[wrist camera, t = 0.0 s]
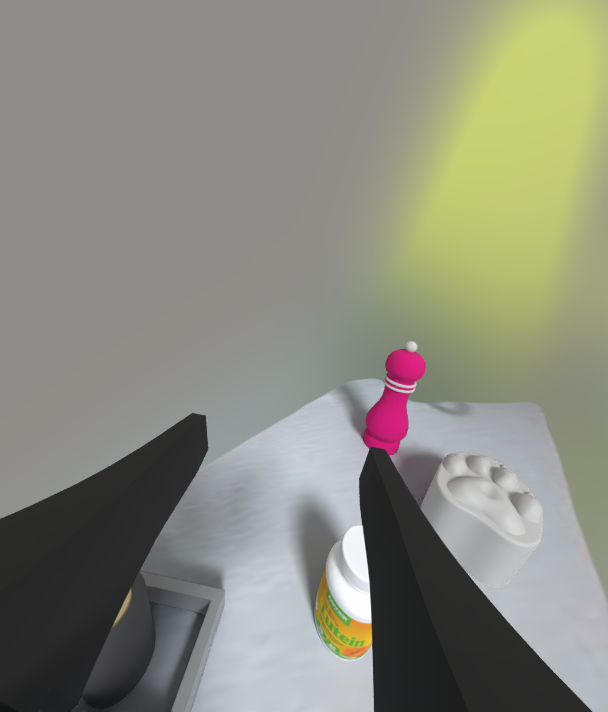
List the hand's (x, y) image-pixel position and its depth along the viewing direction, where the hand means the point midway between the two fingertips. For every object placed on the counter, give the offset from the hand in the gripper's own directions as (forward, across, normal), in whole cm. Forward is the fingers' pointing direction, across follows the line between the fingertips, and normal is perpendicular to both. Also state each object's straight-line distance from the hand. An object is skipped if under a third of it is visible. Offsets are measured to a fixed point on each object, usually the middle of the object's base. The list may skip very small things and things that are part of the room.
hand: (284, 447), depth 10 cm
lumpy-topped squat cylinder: (+14, -24, +23) cm, 36 cm away
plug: (-3, +10, +22) cm, 24 cm away
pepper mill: (+27, -15, +24) cm, 39 cm away
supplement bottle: (+2, -7, +22) cm, 23 cm away
